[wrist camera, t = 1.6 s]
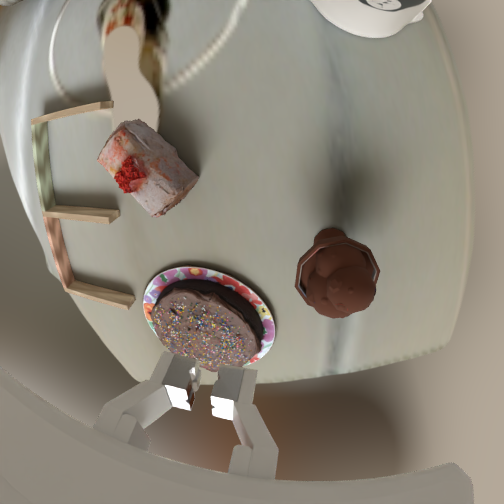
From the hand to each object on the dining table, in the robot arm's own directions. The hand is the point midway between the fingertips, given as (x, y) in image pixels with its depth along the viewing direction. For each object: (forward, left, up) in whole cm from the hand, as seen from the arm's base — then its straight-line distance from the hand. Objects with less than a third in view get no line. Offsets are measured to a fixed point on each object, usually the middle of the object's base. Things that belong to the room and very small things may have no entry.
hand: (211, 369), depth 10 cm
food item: (-1, -17, -31) cm, 36 cm away
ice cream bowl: (+9, +10, -31) cm, 34 cm away
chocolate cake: (+30, -10, -32) cm, 45 cm away
